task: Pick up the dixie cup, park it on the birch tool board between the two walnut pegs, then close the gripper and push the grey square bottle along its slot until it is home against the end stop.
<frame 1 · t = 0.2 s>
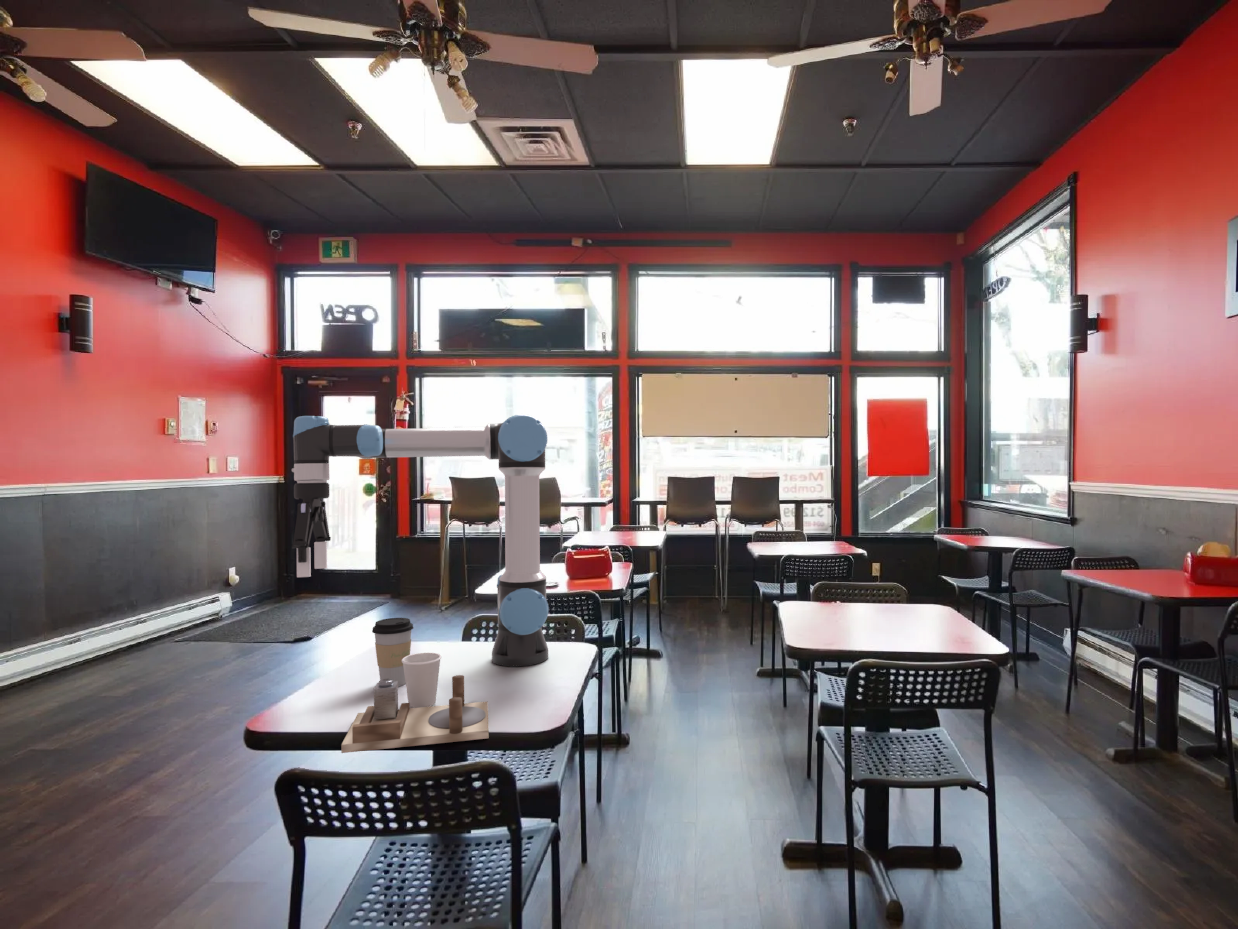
hand: (312, 572, 151), 28 cm above the table, fingers open, 13 cm apart
dixie cup: (422, 704, 141), on the table
coffee cup: (393, 684, 155), on the table
grey square bottle: (386, 698, 129), point 5 cm above the table, slide at 0.0 cm
board: (420, 729, 126), on the table
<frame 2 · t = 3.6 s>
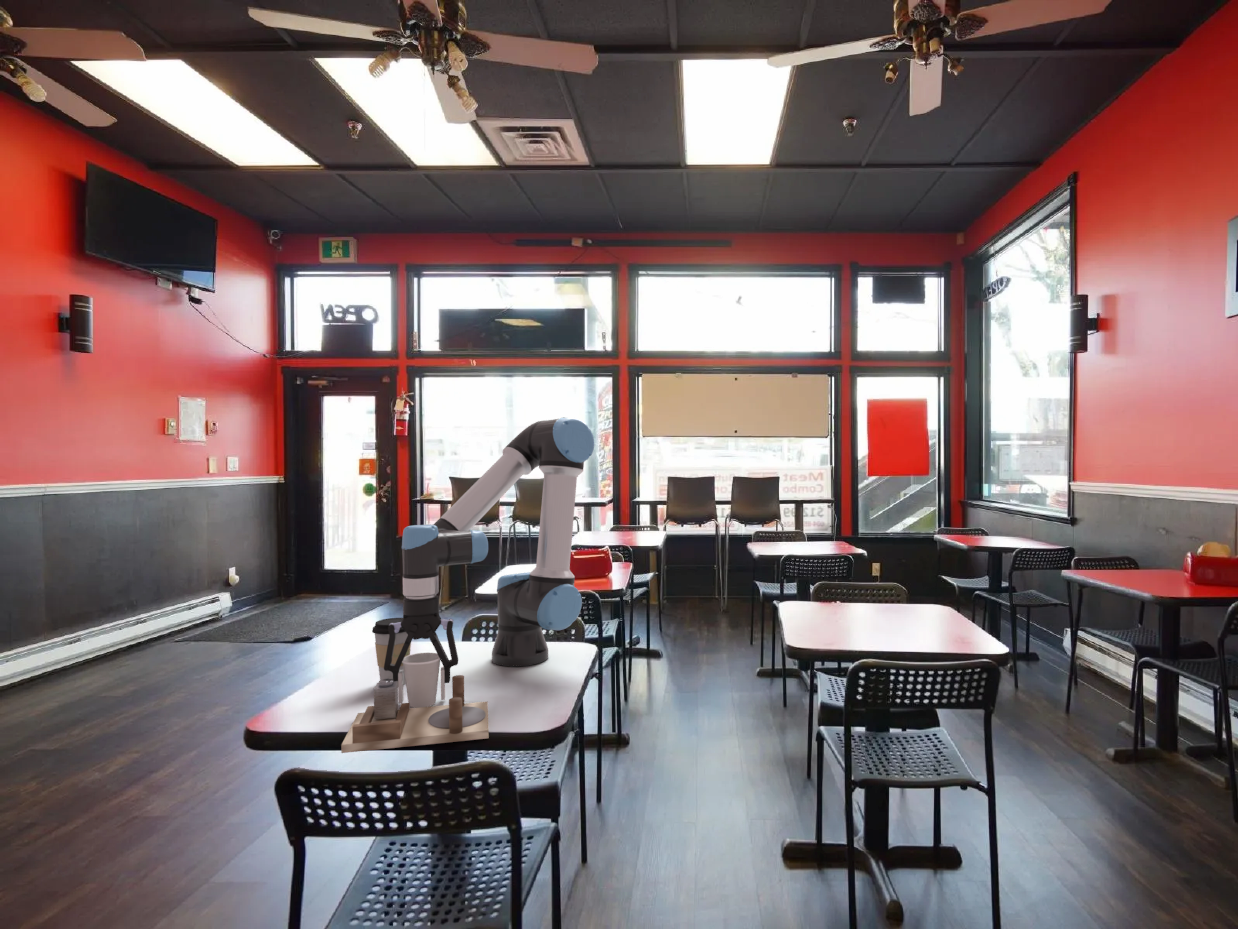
hand: (422, 699, 141), 1 cm above the table, fingers closed on dixie cup, 8 cm apart
dixie cup: (422, 704, 141), on the table, touching gripper
everything else where it was.
when the fingers open (5 cm above the table, at t = 8.2 s): dixie cup drops 2 cm, resting on board.
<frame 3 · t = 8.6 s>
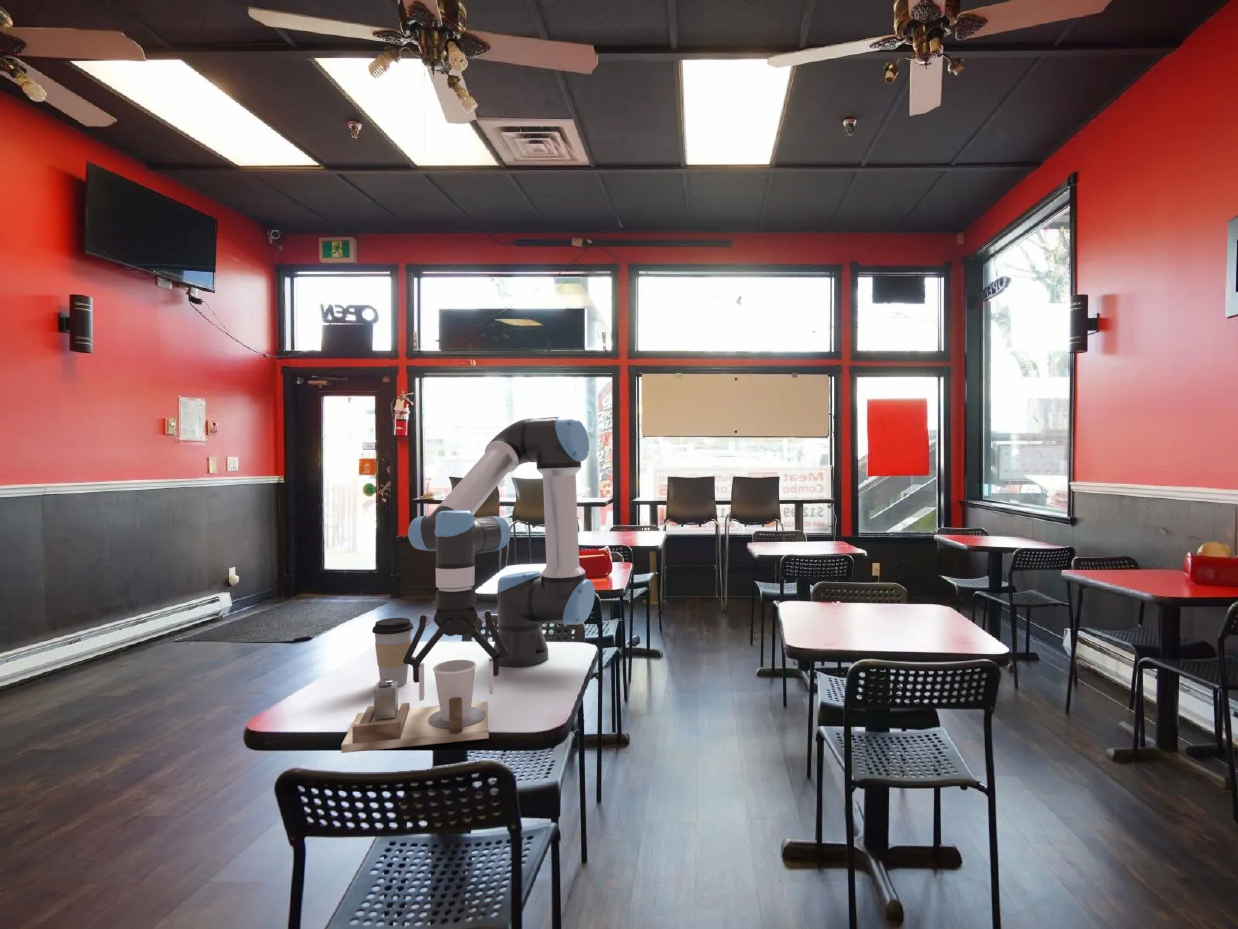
hand: (457, 695, 128), 6 cm above the table, fingers open, 13 cm apart
dixie cup: (456, 717, 128), point 2 cm above the table, touching board
everything else where it was.
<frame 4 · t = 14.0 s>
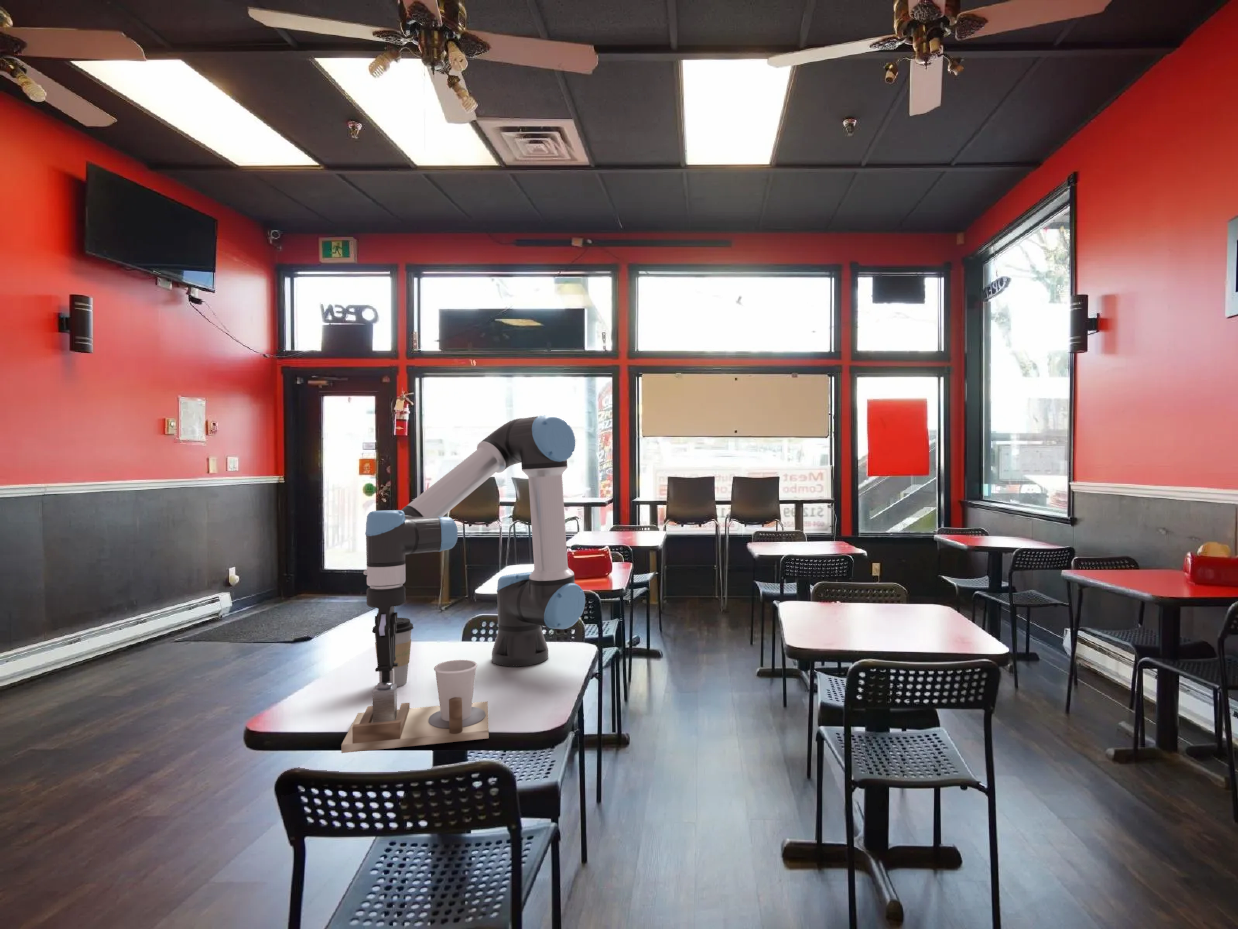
hand: (387, 701, 131), 4 cm above the table, fingers closed
grey square bottle: (385, 700, 128), point 5 cm above the table, slide at 1.7 cm, touching gripper
everything else where it was.
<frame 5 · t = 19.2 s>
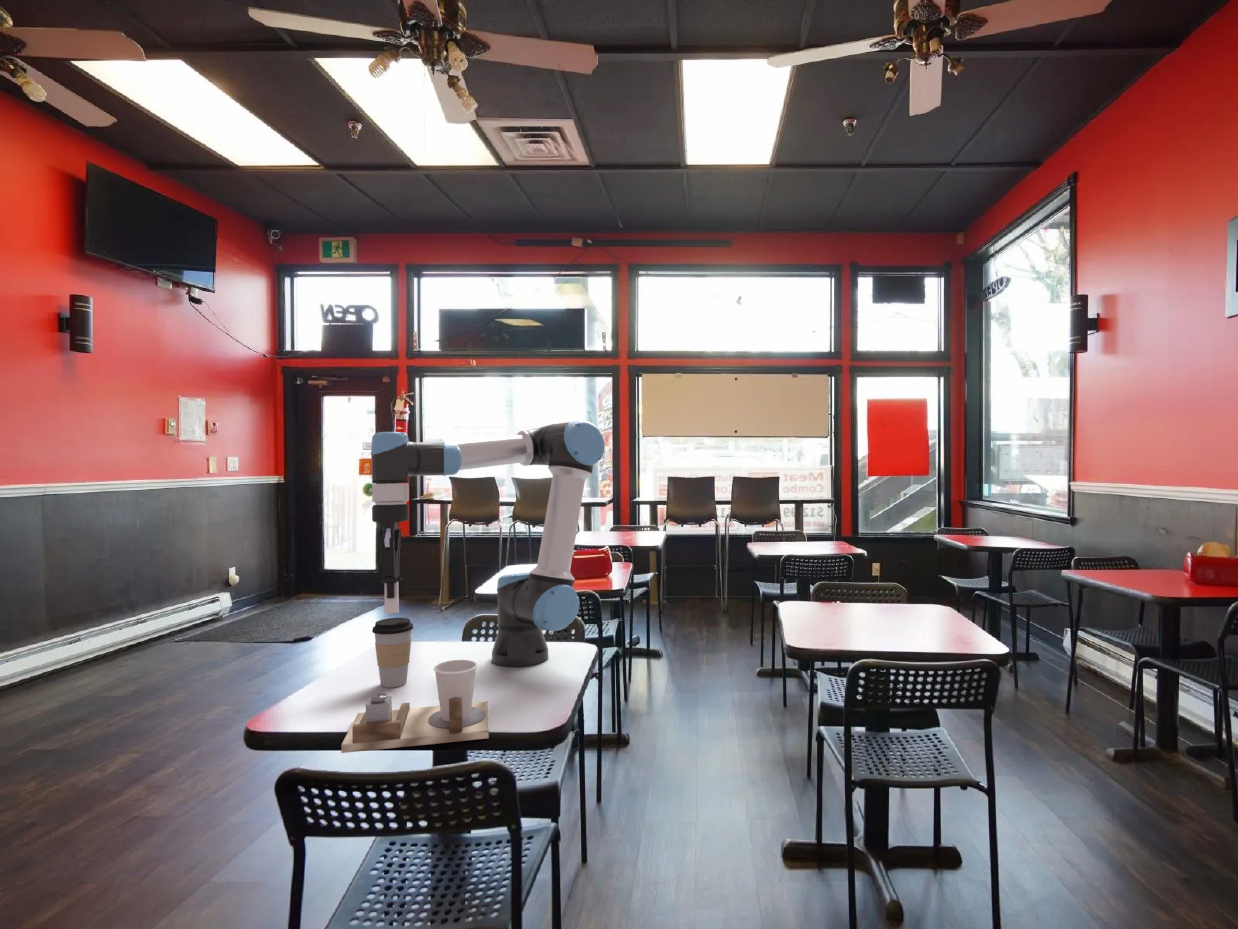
hand: (391, 612, 139), 20 cm above the table, fingers closed
grey square bottle: (379, 714, 120), point 5 cm above the table, slide at 9.3 cm, touching board
everything else where it was.
at the end: dixie cup inside the target area (0.3 cm from its centre), point 1.6 cm above the table; dixie cup tilted 1°; grey square bottle slide at 9.3 cm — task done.
